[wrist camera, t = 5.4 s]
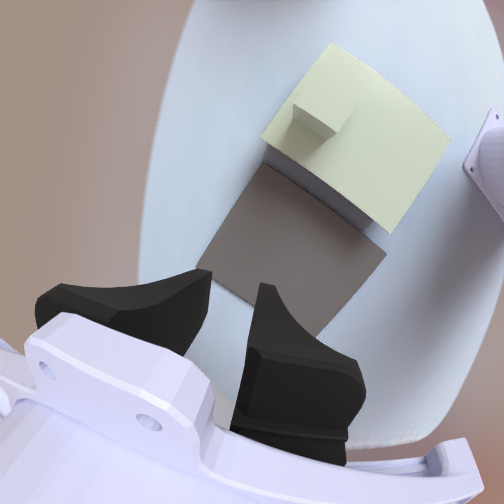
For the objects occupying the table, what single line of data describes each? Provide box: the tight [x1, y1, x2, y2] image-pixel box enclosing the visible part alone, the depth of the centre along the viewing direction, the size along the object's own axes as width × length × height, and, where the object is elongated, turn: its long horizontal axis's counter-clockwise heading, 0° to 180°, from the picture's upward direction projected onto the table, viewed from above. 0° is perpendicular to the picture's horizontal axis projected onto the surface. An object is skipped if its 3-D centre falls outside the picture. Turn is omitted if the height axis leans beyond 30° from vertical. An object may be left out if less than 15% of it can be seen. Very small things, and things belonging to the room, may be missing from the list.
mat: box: [196, 162, 387, 337], centre depth 22 cm, size 12×10×1 cm
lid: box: [260, 42, 451, 234], centre depth 14 cm, size 10×8×5 cm
